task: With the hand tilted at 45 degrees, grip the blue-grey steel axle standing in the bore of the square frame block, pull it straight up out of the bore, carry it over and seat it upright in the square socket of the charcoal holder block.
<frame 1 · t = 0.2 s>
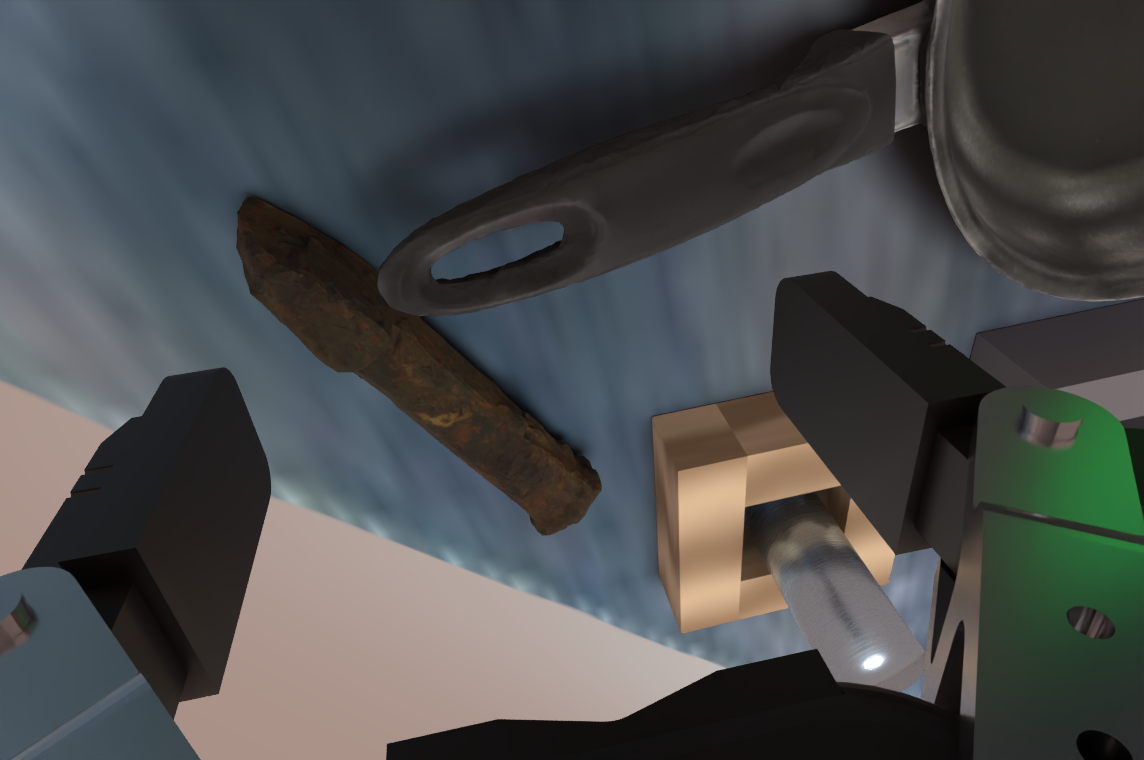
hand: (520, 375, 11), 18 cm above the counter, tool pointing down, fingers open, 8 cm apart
holder block: (1050, 403, 40), on the counter
hand tool: (423, 361, 31), on the counter
square frame block: (762, 480, 39), on the counter
frying pan: (987, 11, 27), on the counter
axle: (762, 479, 39), resting in square frame block
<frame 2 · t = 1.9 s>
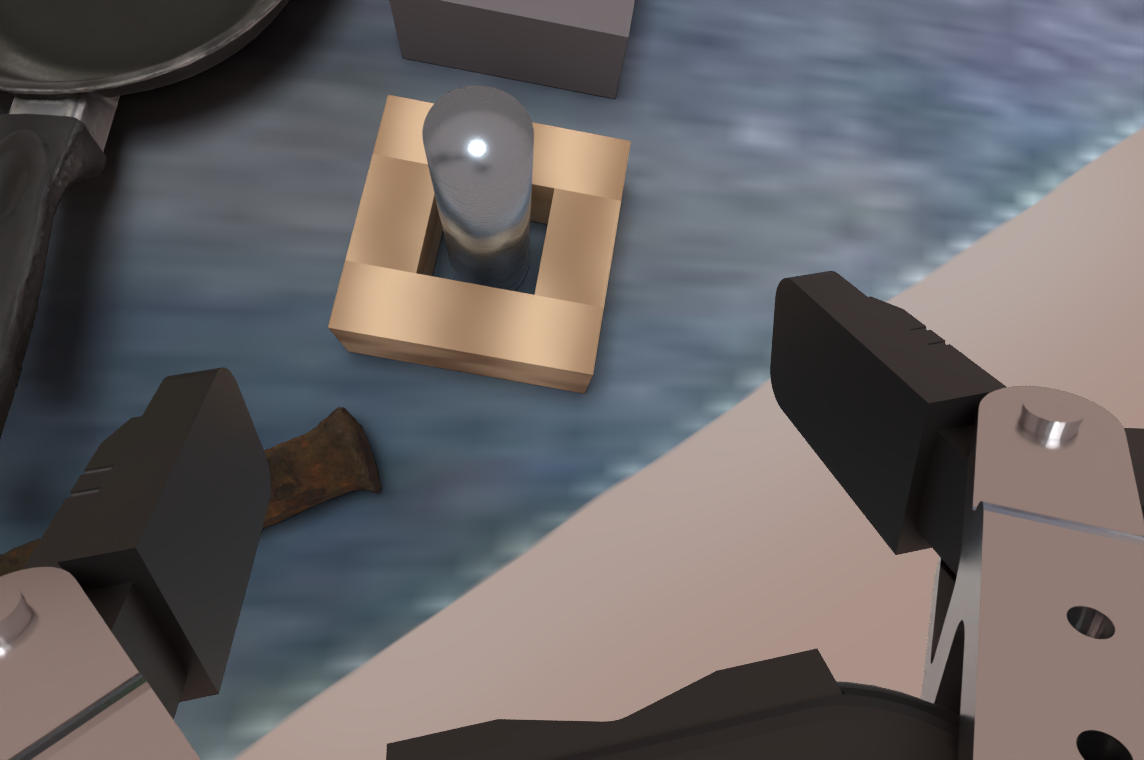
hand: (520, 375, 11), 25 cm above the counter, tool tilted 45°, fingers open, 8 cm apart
hand tool: (189, 541, 34), on the counter
square frame block: (489, 262, 38), on the counter
frying pan: (116, 59, 39), on the counter
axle: (489, 262, 38), resting in square frame block
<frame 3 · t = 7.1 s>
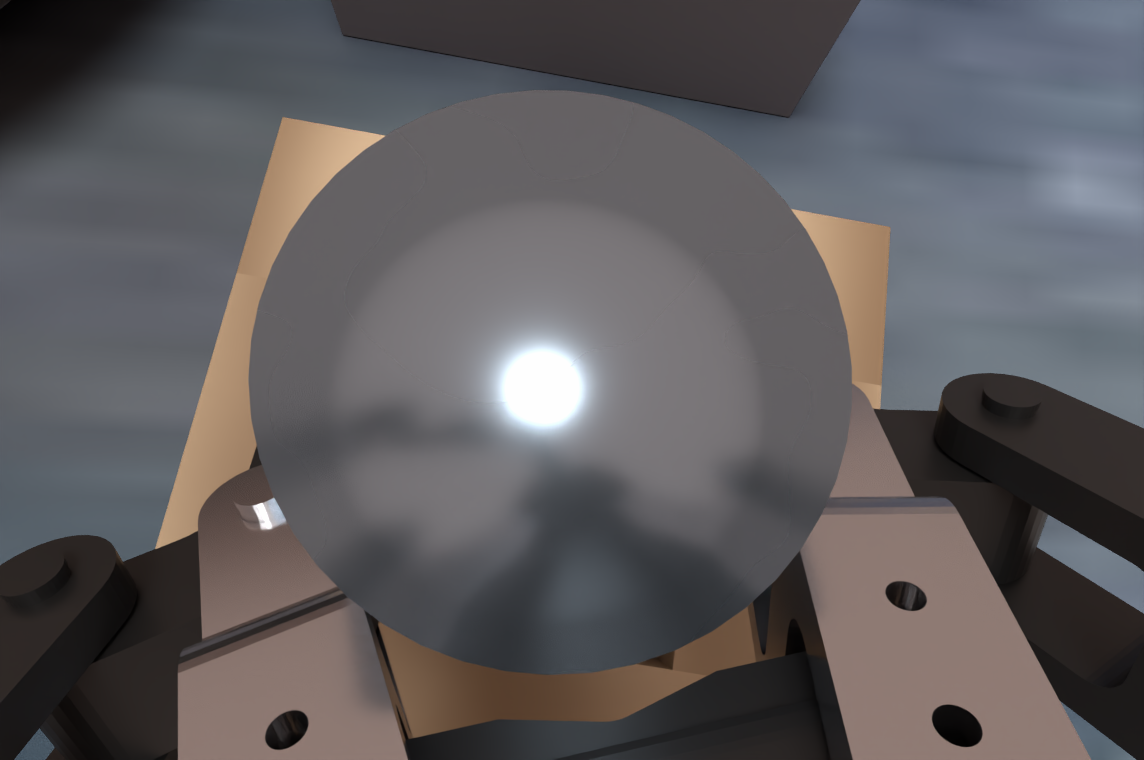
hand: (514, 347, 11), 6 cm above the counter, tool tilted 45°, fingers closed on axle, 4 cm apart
square frame block: (533, 496, 16), on the counter
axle: (532, 496, 16), resting in square frame block, touching gripper
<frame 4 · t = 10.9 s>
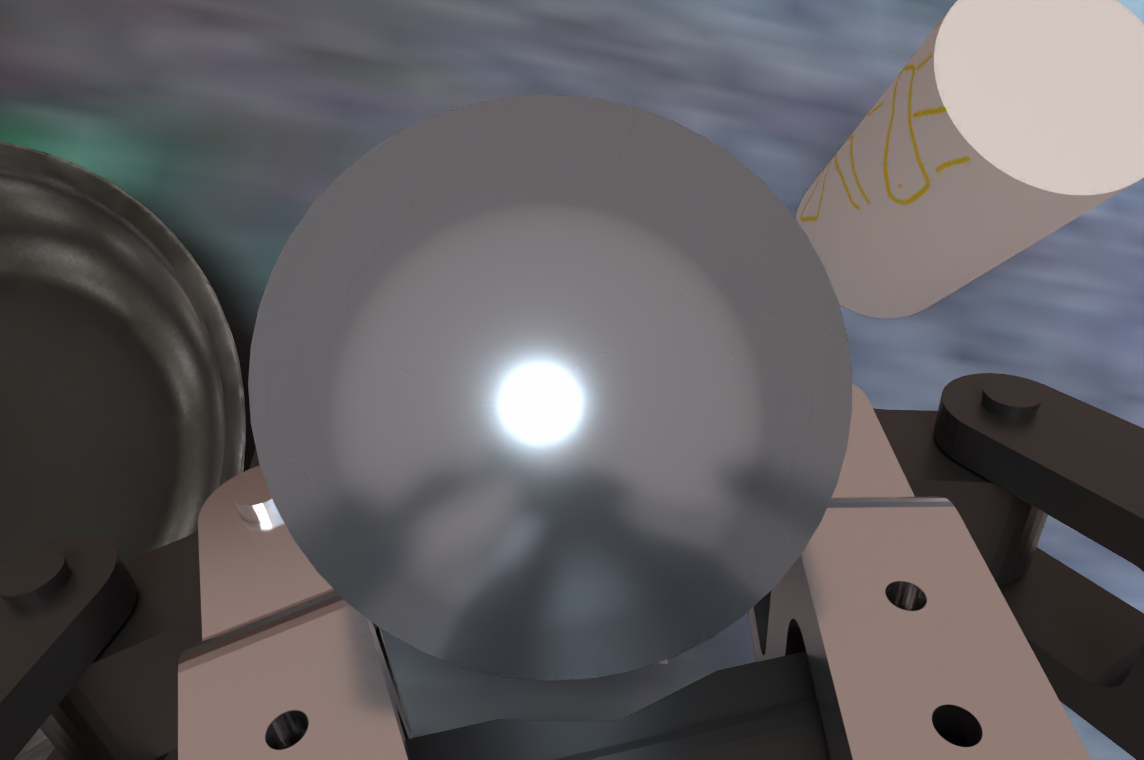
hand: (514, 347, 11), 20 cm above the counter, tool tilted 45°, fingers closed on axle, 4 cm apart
cup: (875, 239, 35), on the counter
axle: (532, 498, 16), point 14 cm above the counter, touching gripper
when the fingers open (7 cm above the counter, at t = 15.0 s): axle drops 1 cm, resting in holder block.
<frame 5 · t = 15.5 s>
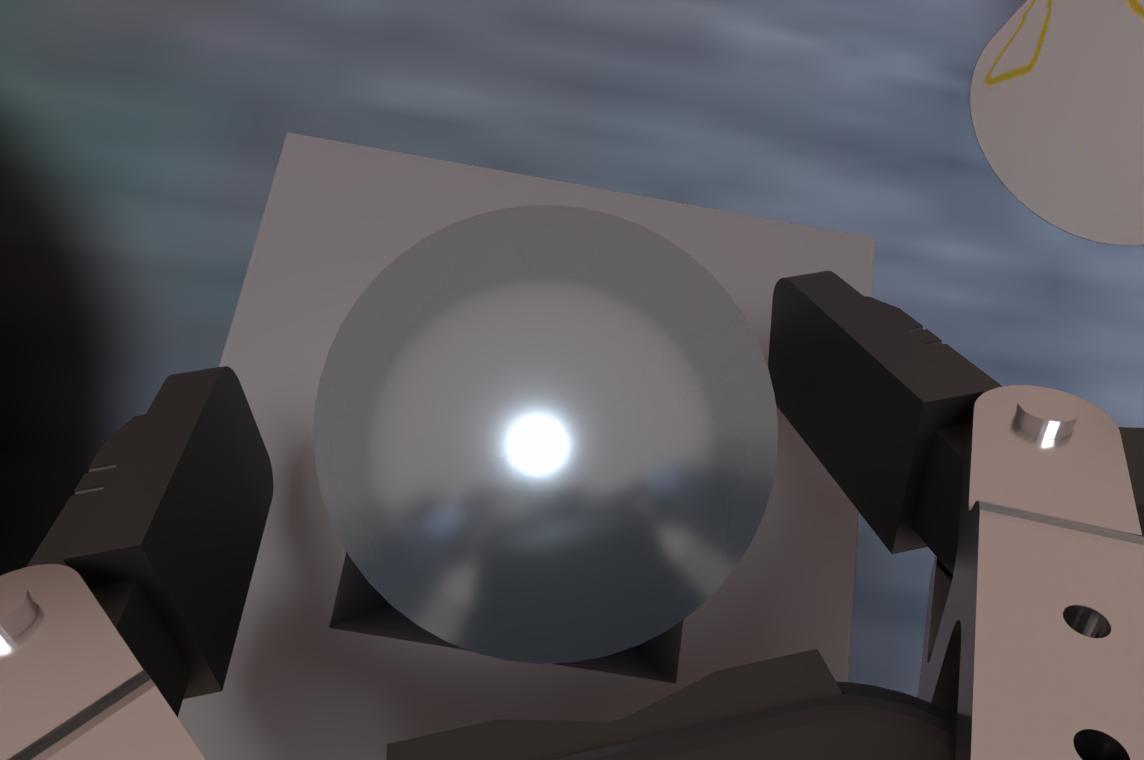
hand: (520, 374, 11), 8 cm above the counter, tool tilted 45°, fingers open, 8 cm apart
holder block: (530, 501, 18), on the counter
cup: (1095, 124, 22), on the counter
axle: (531, 506, 18), resting in holder block
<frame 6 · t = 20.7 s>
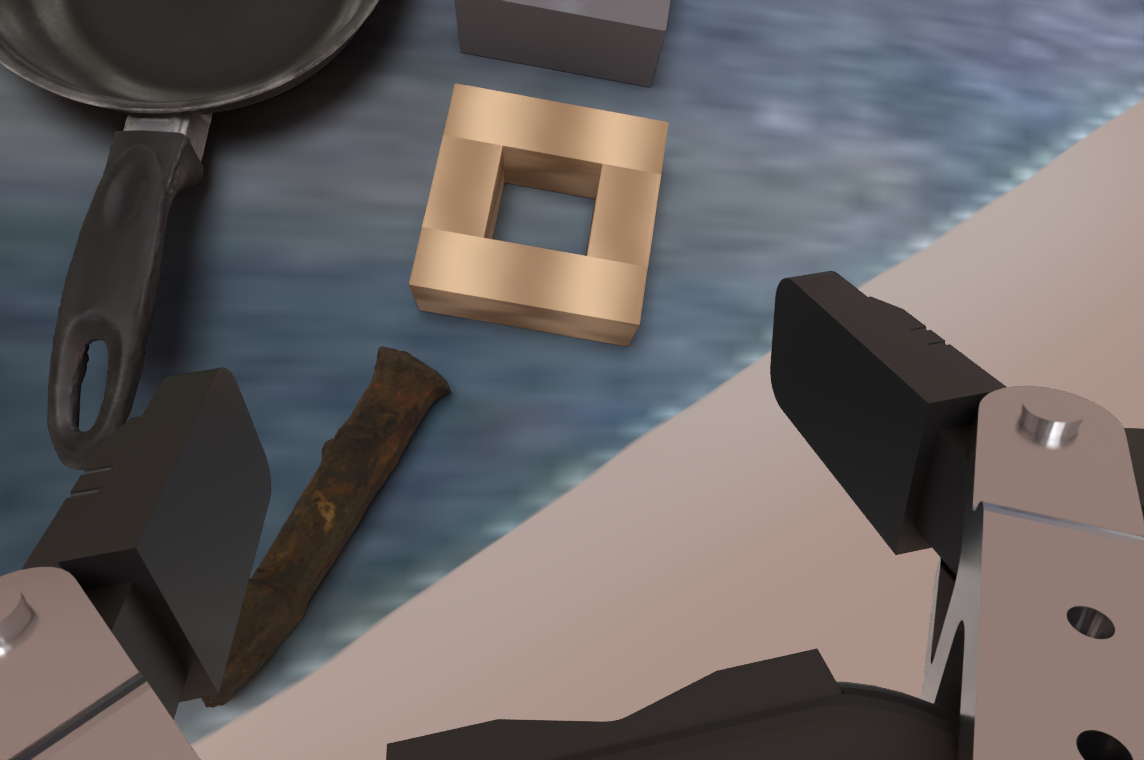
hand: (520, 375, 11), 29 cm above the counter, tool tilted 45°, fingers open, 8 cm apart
hand tool: (342, 529, 38), on the counter
square frame block: (542, 232, 42), on the counter
frying pan: (204, 80, 44), on the counter
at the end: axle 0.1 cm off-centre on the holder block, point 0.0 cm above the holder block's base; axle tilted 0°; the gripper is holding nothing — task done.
